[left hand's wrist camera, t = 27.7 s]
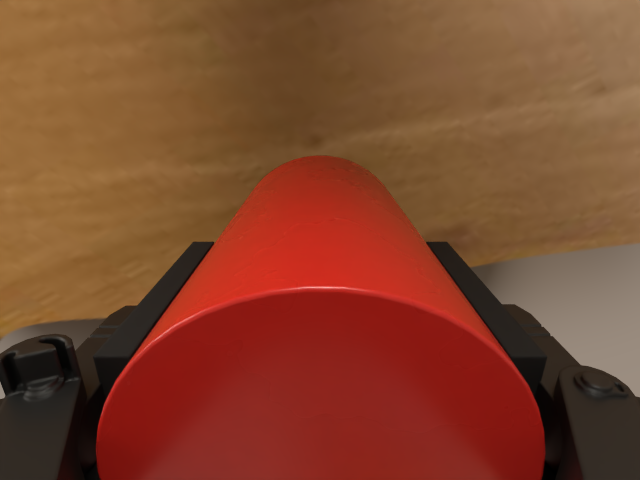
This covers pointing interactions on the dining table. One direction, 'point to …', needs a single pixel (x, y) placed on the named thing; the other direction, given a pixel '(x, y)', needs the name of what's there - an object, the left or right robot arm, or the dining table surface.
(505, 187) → the dining table surface
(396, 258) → the cylinder
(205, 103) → the dining table surface
